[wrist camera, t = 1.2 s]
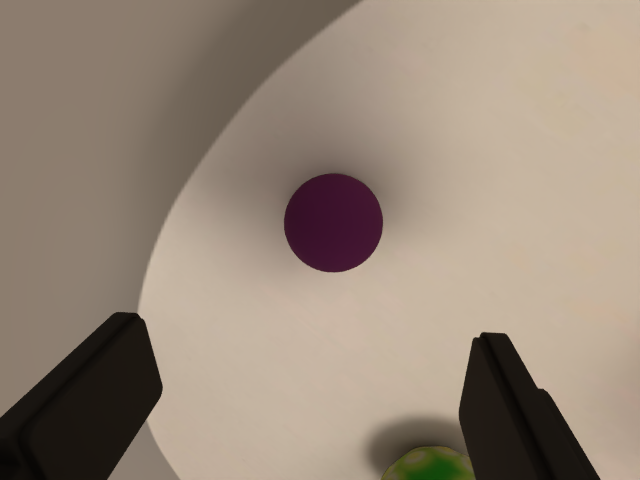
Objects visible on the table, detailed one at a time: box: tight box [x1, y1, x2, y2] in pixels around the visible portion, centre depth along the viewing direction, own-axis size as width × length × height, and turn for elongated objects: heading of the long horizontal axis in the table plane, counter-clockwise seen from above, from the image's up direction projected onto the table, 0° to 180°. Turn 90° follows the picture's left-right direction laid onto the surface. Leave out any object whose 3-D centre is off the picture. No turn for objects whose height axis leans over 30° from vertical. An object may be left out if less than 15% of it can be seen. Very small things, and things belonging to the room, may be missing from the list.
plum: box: [284, 174, 383, 272], centre depth 19 cm, size 5×5×5 cm
